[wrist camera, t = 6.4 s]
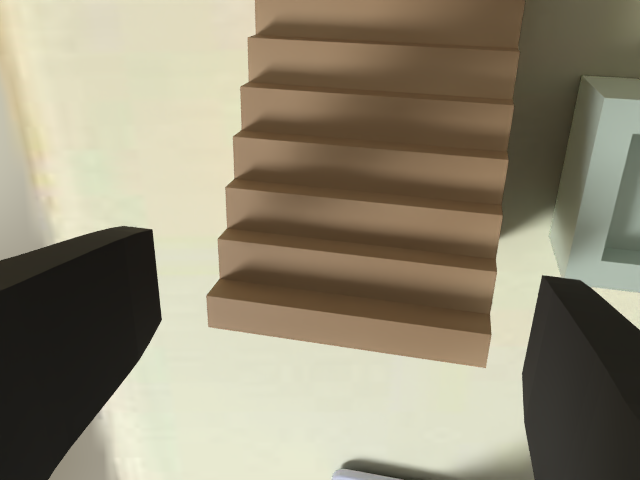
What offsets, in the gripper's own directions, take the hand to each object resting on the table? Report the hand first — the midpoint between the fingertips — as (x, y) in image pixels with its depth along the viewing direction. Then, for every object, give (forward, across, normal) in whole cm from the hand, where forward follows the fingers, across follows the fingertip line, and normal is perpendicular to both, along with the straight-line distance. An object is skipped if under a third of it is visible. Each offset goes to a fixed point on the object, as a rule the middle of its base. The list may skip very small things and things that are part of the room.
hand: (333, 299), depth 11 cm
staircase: (+7, 0, -2) cm, 7 cm away
